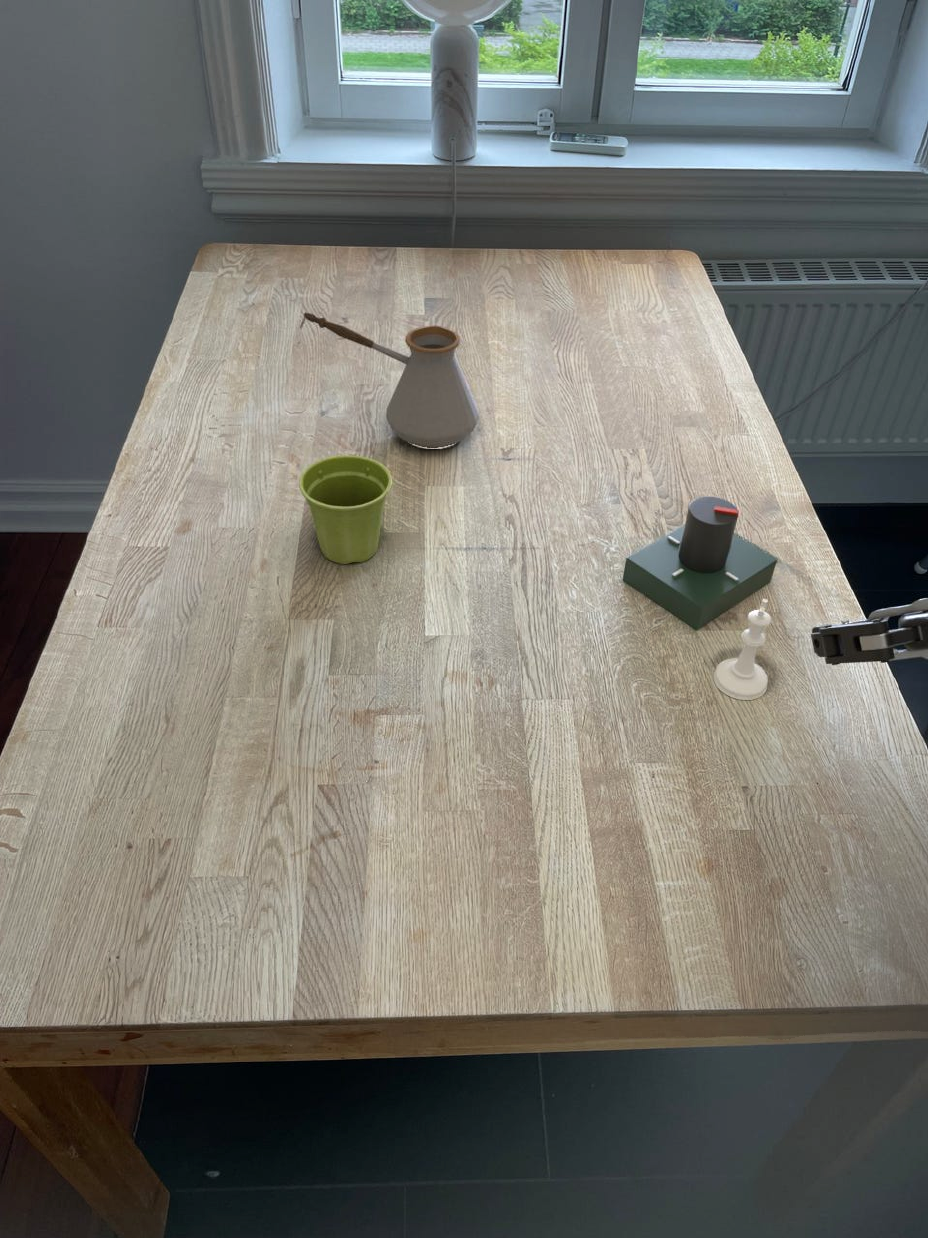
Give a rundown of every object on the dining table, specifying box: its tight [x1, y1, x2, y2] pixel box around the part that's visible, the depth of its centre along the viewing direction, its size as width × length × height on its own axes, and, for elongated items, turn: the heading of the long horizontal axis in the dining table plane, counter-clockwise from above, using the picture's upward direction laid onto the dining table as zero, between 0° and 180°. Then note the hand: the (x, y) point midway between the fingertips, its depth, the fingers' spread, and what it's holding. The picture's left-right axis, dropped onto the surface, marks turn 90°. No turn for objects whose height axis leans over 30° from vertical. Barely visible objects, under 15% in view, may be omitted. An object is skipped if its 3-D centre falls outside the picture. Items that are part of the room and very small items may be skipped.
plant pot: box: [298, 454, 393, 565], centre depth 101 cm, size 9×9×9 cm
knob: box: [679, 496, 740, 573], centre depth 97 cm, size 5×5×6 cm
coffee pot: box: [299, 311, 480, 448], centre depth 117 cm, size 21×12×15 cm, turn 85°
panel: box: [622, 523, 778, 631], centre depth 100 cm, size 12×10×3 cm
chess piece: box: [713, 598, 772, 701], centre depth 87 cm, size 5×5×10 cm
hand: (867, 630), depth 72 cm, fingers open, 8 cm apart
